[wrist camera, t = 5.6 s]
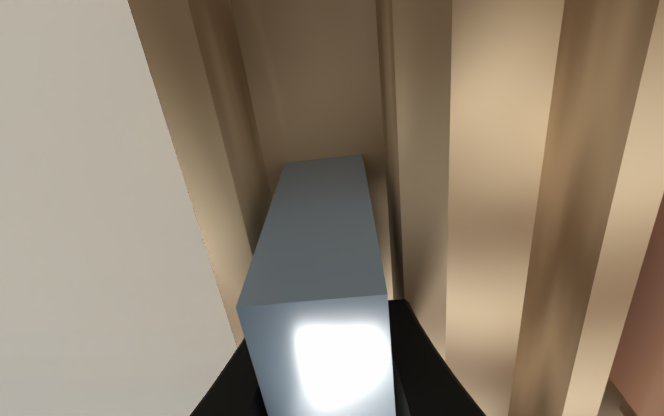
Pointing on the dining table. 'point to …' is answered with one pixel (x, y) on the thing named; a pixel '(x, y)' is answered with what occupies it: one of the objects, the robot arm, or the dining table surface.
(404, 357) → the robot arm
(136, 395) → the dining table surface
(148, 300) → the dining table surface
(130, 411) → the dining table surface
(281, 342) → the slate plate
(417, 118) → the dish rack
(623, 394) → the salmon pink block
